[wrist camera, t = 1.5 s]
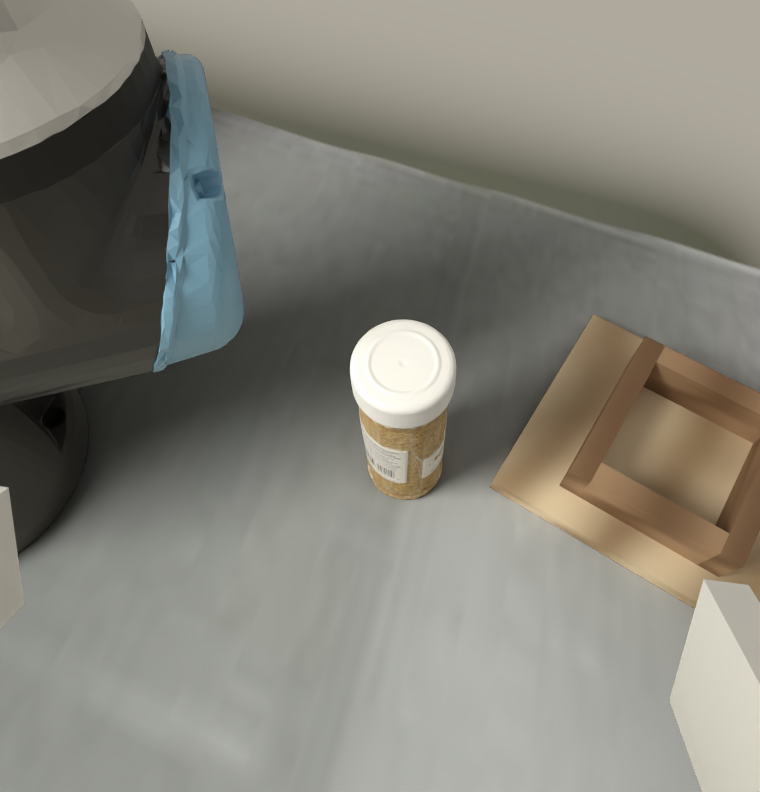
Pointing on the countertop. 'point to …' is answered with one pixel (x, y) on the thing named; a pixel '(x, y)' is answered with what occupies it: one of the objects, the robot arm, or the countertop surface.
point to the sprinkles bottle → (403, 404)
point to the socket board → (645, 462)
